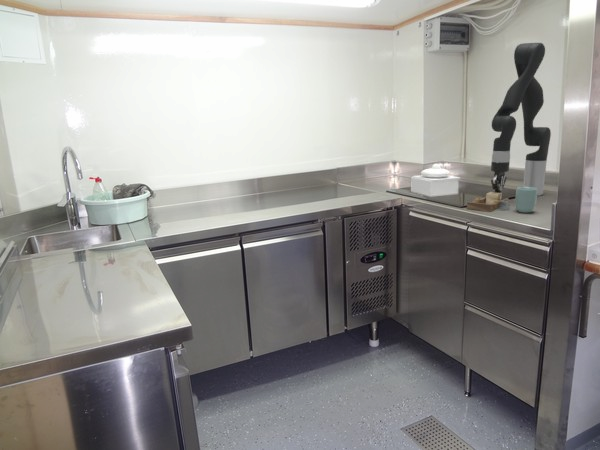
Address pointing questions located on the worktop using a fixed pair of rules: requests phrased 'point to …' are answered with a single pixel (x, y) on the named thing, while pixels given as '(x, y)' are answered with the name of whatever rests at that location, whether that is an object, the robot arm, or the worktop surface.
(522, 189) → the cup
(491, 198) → the block
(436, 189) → the butter dish
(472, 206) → the beam rails
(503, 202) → the block
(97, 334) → the worktop surface
